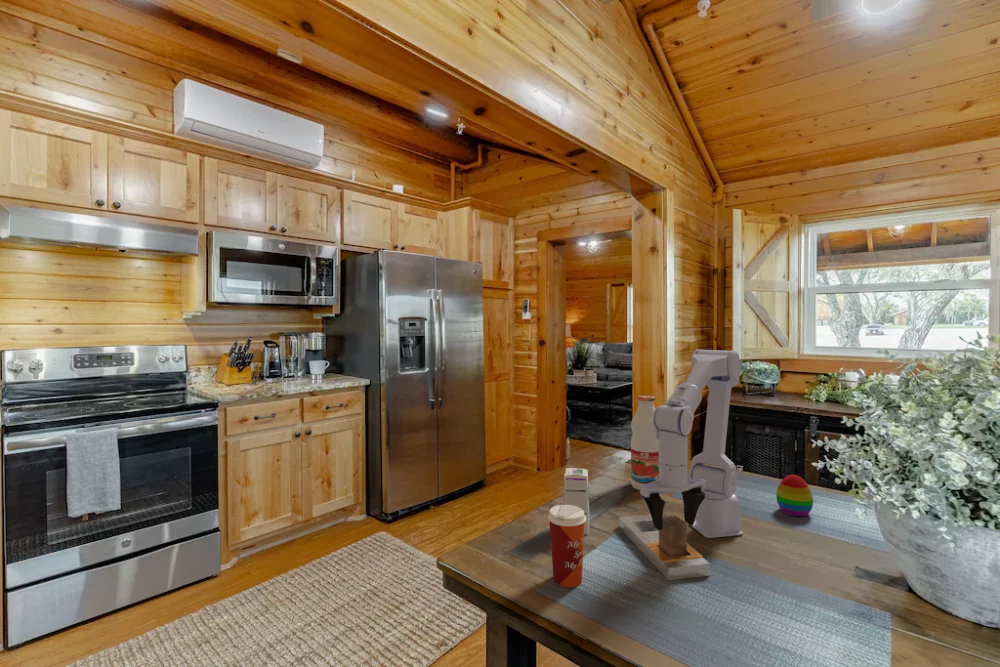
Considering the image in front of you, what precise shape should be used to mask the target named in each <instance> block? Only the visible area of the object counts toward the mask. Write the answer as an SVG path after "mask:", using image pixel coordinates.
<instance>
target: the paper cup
mask: <svg viewBox="0 0 1000 667" xmlns="http://www.w3.org/2000/svg"><path fill="white" fill-rule="evenodd" d="M547 520H548V521H549V534H550V547H551V548H550V549H551V562H552V574H553V581H554V582H555V584H556V585H557V586H559V587H562V588H566V589H567V588H568V589H572V588H577V587H578V586H580V585H581V584H582V581H583V580H582V579H583V569H584V568H583V566H584V546H585V544H584V543H585V534H584V527H585V521H586V516H585V515H584V511H583V510H582V509H581V508H579V507H577V506H573V505H565V504H557V505H555V506H552V507H551V508H550V510H549V512H548V514H547Z"/></svg>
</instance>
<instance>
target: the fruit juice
mask: <svg viewBox="0 0 1000 667" xmlns="http://www.w3.org/2000/svg"><path fill="white" fill-rule="evenodd" d="M655 400H656V399H655V396H654V395H649V394H648V395H645V394H644V395H642V394H641V395H638V396H637V401H638V406H637V408H636V411H635V414H634V416H633V418H632V420H631V423H630V429H631V431H632V436H631V438H630V481H631V482H630V484H631V486H632V488H634V489H635V490H638V491H640V485H644V484H648V483H651V482H654V481H657V480H659V440H657V439H656V431H655V429H654V426H653V417H654V412H655V410H656V409H657V408H656V407H655V404H654V403H655V402H656V401H655Z"/></svg>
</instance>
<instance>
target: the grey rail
mask: <svg viewBox="0 0 1000 667" xmlns="http://www.w3.org/2000/svg"><path fill="white" fill-rule="evenodd" d="M618 528H619V529H621V530H620V531H622V532H623V533H624V534H625V535H626V536H627V537H628V538H629V540H631V542H632V543H634V545H635V546H636V547H637V548H638V549H639V551H641V552H642V553H643V555H644V556H645V557H646V558H647V559H648V560H649V561H650V562H651V563H652V564H653V565H654V567H655V568H656V569H657V568H658V569H659V570H658V571H659V572H660V571H661V572H662V573H661V572H660V573H661V574H662V575H663V576H664V577H665V579H667V581H674V580H683V579H684V580H685V579H693V578H702V577H710V576H711V563H710V562H709V561H708V560H707V559H705V558H704V556H703V555H702V554H701V553H700V552H698V550H696V549H695V548H694V547H693V546H691V545H690V544H689V543H688V542H687V556H677V557H668V556H667V555H666V554H665V553H663V552H662V551H661V550H660V549H659V530H658V529H657V528H655V527H654V525H653V521H652V517H651V514H649V513H648V514H638V515H629V516H618ZM709 575H710V576H709Z"/></svg>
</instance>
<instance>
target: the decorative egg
mask: <svg viewBox="0 0 1000 667" xmlns="http://www.w3.org/2000/svg"><path fill="white" fill-rule="evenodd" d="M775 497H776V503H777V504H778V506H779V508H780V510H781V511H782V513H784V514H786V515H788V514H789V516H792V515H793V516H792V517H797V516H803V517H806V516H808V515H809V514H810V512H812V510H813V504H814V496H813V493H812V490H811V488H810V486H809V485H808V483H807V482H806V481H805V480H804V479H803V478H802V477H801V476H799V475H797V474H788V475H787V476H785V477H784V478H782V480H781V481H780V482H779V483H778V485H777V489H776V496H775Z"/></svg>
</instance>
